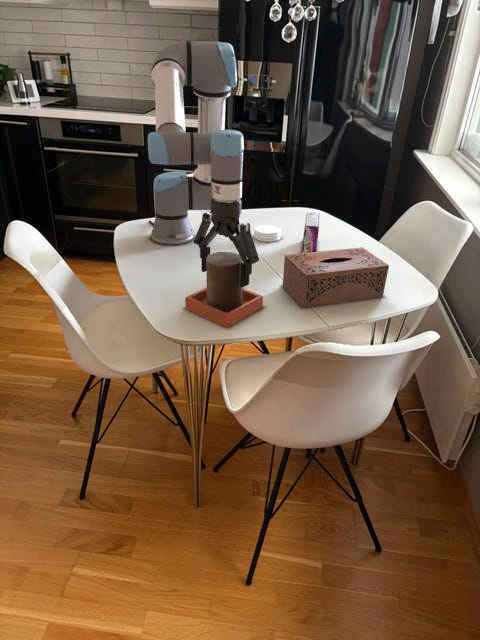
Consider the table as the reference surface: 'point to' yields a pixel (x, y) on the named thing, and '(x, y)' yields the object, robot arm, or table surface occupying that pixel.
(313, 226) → the candy bar box
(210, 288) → the pillar candle
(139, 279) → the table surface
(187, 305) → the holder
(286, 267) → the tissue box cover
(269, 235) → the coaster
